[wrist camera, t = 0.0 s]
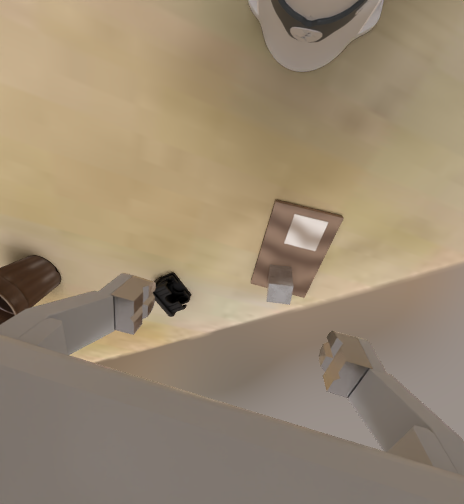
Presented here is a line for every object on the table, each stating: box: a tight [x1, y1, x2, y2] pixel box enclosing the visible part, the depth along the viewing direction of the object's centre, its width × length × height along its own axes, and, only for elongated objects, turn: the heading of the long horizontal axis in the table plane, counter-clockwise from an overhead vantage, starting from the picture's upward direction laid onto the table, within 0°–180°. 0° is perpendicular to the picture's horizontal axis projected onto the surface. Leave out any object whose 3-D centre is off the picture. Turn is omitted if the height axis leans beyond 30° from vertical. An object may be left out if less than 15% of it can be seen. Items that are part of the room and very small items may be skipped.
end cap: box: [153, 273, 191, 317], centre depth 60 cm, size 10×7×7 cm
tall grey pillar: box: [267, 265, 293, 305], centre depth 49 cm, size 5×5×8 cm
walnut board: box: [251, 200, 343, 298], centre depth 47 cm, size 22×14×8 cm, turn 169°
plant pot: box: [0, 256, 61, 325], centre depth 63 cm, size 16×16×16 cm
